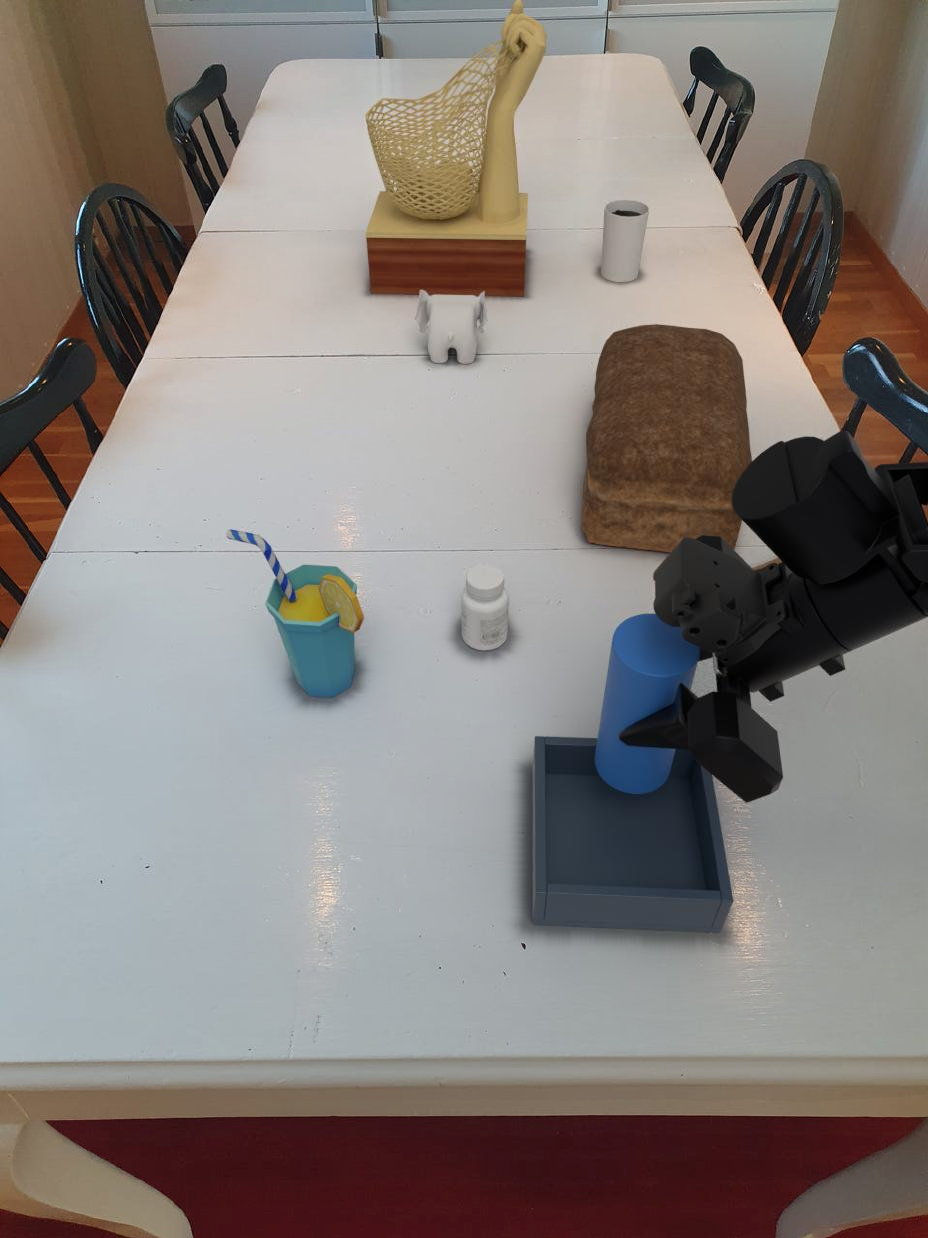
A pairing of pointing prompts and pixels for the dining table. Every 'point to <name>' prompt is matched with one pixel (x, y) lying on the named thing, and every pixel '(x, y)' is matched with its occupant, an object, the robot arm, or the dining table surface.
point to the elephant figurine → (451, 324)
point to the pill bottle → (484, 608)
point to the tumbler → (641, 699)
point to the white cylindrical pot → (623, 239)
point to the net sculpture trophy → (456, 182)
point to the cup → (313, 620)
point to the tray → (624, 846)
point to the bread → (665, 439)
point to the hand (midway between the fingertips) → (623, 706)
